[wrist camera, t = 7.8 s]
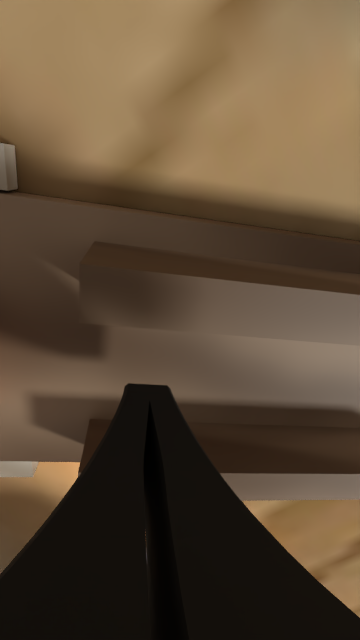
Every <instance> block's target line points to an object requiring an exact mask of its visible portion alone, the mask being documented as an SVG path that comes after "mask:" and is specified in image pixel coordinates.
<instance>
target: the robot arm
mask: <svg viewBox="0 0 360 640" xmlns="http://www.w3.org/2000/svg"><path fill="white" fill-rule="evenodd" d="M145 531H146V536H145ZM0 640H360V618H359V617H358V616H357V615H356V614H355V613H353V612H352V611H351V610H350V609H349V608H348V607H347V606H346V605H344V604H343V603H342V602H341V601H340V600H339V599H338V598H336V597H335V596H334V595H333V594H332V593H331V592H330V591H329V590H327V589H326V588H325V587H324V586H323V585H322V584H321V583H319V582H318V581H317V580H316V579H315V578H314V577H313V576H312V575H311V574H310V573H309V572H308V571H307V570H306V569H305V568H304V567H303V566H302V565H301V564H300V563H299V562H298V561H297V560H296V559H295V558H294V557H293V556H292V555H291V554H289V553H288V552H287V550H286V549H285V548H284V547H283V546H282V545H281V544H280V543H279V542H278V541H277V540H276V539H275V538H274V537H273V536H272V534H271V533H270V532H269V531H268V530H267V529H266V528H265V527H264V526H263V525H262V524H261V523H260V522H259V521H258V520H257V518H256V517H255V516H254V515H253V514H252V513H251V512H250V511H249V509H248V508H247V507H246V506H245V505H244V503H243V502H242V501H241V500H240V499H239V497H238V496H237V495H236V494H235V493H234V491H233V490H232V489H231V487H230V486H229V485H228V484H227V482H226V481H225V480H224V478H223V477H222V476H221V474H220V473H219V472H218V470H217V469H216V468H215V466H214V465H213V463H212V462H211V460H210V459H209V457H208V456H207V454H206V453H205V451H204V450H203V448H202V447H201V445H200V444H199V442H198V441H197V439H196V437H195V435H194V434H193V432H192V430H191V429H190V427H189V425H188V424H187V422H186V420H185V418H184V416H183V414H182V413H181V411H180V409H179V407H178V405H177V403H176V401H175V398H174V396H173V394H172V392H171V389H170V388H169V387H168V385H152V384H133V383H128V384H127V385H125V387H124V392H123V395H122V398H121V401H120V404H119V406H118V408H117V411H116V413H115V415H114V417H113V419H112V421H111V423H110V425H109V427H108V429H107V431H106V433H105V435H104V437H103V438H102V440H101V442H100V443H99V445H98V447H97V448H96V450H95V452H94V453H93V455H92V457H91V459H90V460H89V462H88V463H87V465H86V466H85V468H84V469H83V471H82V472H81V474H80V475H79V477H78V478H77V480H76V481H75V483H74V484H73V485H72V487H71V488H70V490H69V491H68V492H67V494H66V495H65V496H64V498H63V499H62V500H61V502H60V503H59V504H58V506H57V507H56V508H55V510H54V511H53V512H52V513H51V515H50V516H49V517H48V519H47V520H46V521H45V522H44V524H43V525H42V526H41V527H40V529H39V530H38V531H37V532H36V534H35V535H34V536H33V537H32V538H31V540H30V541H29V542H28V543H27V544H26V545H25V547H24V548H23V549H22V550H21V551H20V552H19V553H18V555H17V556H16V557H15V558H14V559H13V560H12V561H11V563H10V564H9V565H8V566H7V567H6V568H5V570H4V571H3V572H2V573H1V574H0Z"/></svg>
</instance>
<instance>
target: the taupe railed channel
mask: <svg viewBox="0 0 360 640" xmlns="http://www.w3.org/2000/svg"><path fill="white" fill-rule="evenodd" d="M14 189H18V184H17V171H16V157H15V145H10V144H4V143H0V477H33V476H34V474H35V471H36V468H37V465H38V462H80V467H79V471H78V477H79V475H80V474H81V472H82V471H83V469H84V468H85V466H86V465H87V463H88V462H89V460H90V459H91V457H92V455H93V453H94V452H95V450H96V448H97V447H98V445H99V443H100V442H101V440H102V438H103V437H104V435H105V433H106V431H107V429H108V427H109V425H110V423H111V421H112V419H113V417H114V415H115V413H116V411H117V408H118V406H119V404H120V401H121V398H122V395H123V392H124V387H125V385H127V384H128V383H133V384H152V385H168V387H169V388H170V389H171V392H172V394H173V396H174V398H175V401H176V403H177V405H178V407H179V409H180V411H181V413H182V414H183V416H184V418H185V420H186V422H187V424H188V425H189V427H190V429H191V430H192V432H193V434H194V435H195V437H196V439H197V441H198V442H199V444H200V445H201V447H202V448H203V450H204V451H205V453H206V454H207V456H208V457H209V459H210V460H211V462H212V463H213V465H214V466H215V468H216V469H217V470H218V472H219V473H220V474H221V476H222V477H223V478H224V480H225V481H226V482H227V484H228V485H229V486H230V487H231V489H232V490H233V491H234V493H235V494H236V495H237V496H238V497H239V499H240V500H241V501H244V500H351V499H360V241H355V240H348V239H341V238H334V237H327V236H320V235H313V234H306V233H299V232H292V231H285V230H278V229H271V228H264V227H257V226H250V225H243V224H236V223H229V222H222V221H215V220H208V219H201V218H194V217H187V216H180V215H173V214H166V213H159V212H152V211H145V210H138V209H131V208H124V207H117V206H110V205H103V204H96V203H89V202H82V201H75V200H68V199H61V198H54V197H47V196H40V195H33V194H26V193H19V192H13V191H9V190H14ZM6 190H7V191H6Z"/></svg>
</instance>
